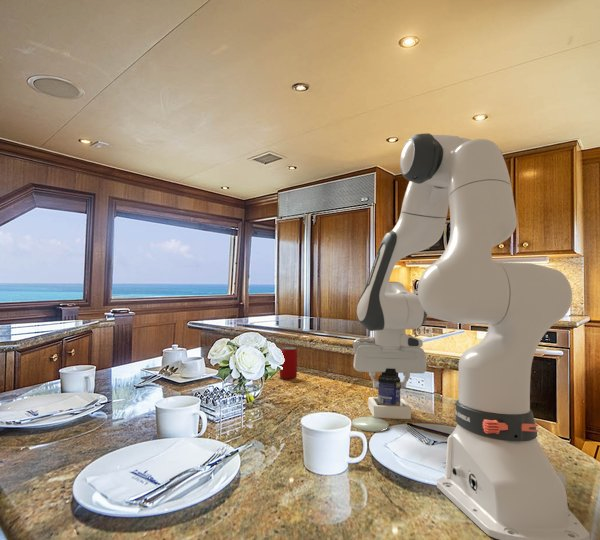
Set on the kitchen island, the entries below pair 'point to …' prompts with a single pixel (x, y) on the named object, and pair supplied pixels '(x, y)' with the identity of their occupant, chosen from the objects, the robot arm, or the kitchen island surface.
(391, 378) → the pill bottle
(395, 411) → the pocket
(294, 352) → the beverage can
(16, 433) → the kitchen island surface
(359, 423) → the coaster
